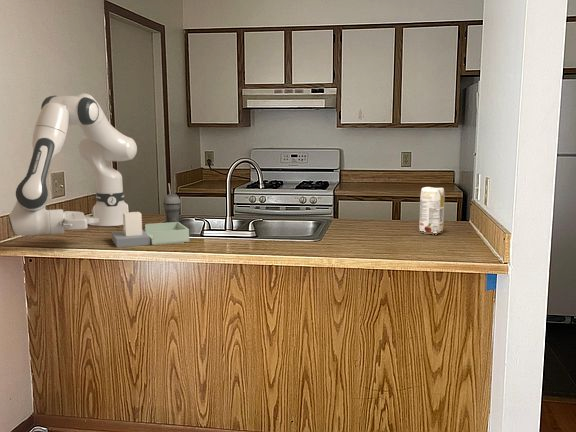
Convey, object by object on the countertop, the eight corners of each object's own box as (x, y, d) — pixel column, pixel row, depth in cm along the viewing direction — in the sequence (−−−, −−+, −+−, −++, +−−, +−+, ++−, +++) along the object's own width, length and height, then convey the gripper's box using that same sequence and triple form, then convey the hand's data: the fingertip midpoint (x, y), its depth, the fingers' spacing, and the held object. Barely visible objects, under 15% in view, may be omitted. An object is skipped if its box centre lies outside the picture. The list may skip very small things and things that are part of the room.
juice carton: (437, 236, 236) (439, 189, 233) (417, 233, 241) (418, 187, 238) (444, 233, 242) (446, 187, 239) (424, 231, 247) (426, 186, 244)
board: (111, 239, 229) (111, 231, 229) (143, 237, 234) (142, 229, 233) (117, 247, 215) (116, 239, 214) (150, 244, 219) (149, 236, 219)
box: (143, 236, 235) (143, 224, 234) (178, 234, 240) (178, 221, 240) (152, 245, 219) (151, 231, 218) (189, 242, 224) (188, 229, 223)
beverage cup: (177, 232, 244) (176, 184, 241) (161, 231, 246) (159, 183, 242) (184, 229, 251) (183, 182, 248) (168, 228, 253) (166, 182, 249)
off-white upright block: (123, 233, 226) (122, 212, 225) (139, 232, 228) (138, 211, 227) (125, 236, 220) (125, 214, 219) (142, 234, 223) (141, 214, 221)
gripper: (59, 217, 203) (101, 214, 208) (57, 209, 222) (95, 207, 227) (60, 235, 204) (101, 232, 209) (58, 226, 223) (96, 223, 228)
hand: (98, 219), depth 218 cm, fingers closed
